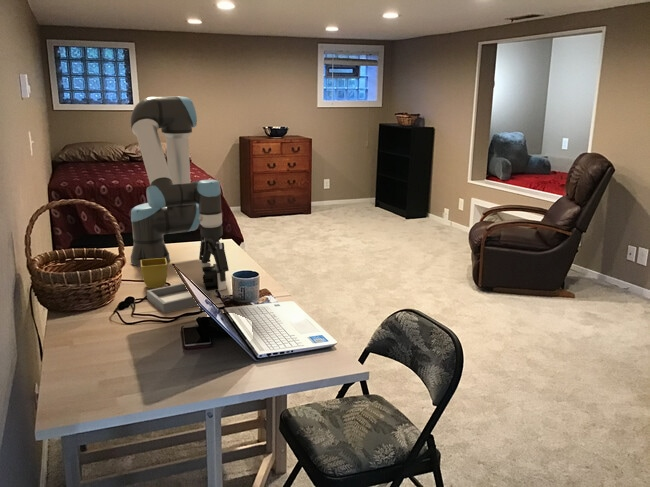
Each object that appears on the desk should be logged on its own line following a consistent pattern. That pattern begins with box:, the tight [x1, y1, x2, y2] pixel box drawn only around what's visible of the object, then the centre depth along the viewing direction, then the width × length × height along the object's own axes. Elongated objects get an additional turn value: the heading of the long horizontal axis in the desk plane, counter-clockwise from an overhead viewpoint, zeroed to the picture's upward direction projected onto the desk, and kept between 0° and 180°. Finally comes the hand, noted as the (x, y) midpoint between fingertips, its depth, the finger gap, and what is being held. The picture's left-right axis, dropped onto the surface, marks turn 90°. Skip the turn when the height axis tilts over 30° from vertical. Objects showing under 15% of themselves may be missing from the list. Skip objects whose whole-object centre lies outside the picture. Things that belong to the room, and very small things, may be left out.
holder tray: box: [146, 282, 212, 314], centre depth 187 cm, size 15×16×3 cm
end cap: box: [201, 263, 219, 292], centre depth 201 cm, size 10×7×7 cm
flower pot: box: [140, 258, 168, 289], centre depth 200 cm, size 9×9×9 cm
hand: (214, 284), depth 202 cm, fingers closed on end cap, 11 cm apart
